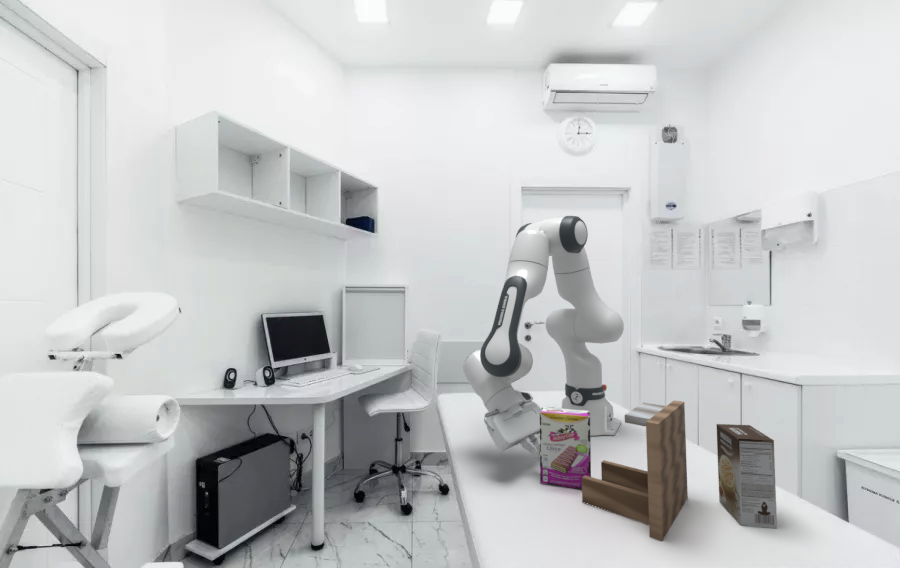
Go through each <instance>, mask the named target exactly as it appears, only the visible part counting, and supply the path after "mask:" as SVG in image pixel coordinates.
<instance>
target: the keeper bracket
mask: <svg viewBox="0 0 900 568" xmlns="http://www.w3.org/2000/svg"><path fill="white" fill-rule="evenodd" d="M685 415H686V412H685V401H681V400H672V401H671V402H670V403H669V404H667V405H661V404H653V403H648V402H642V403H641V404H639V405H637V406H636V407H634V408H632V409H631V410H630V411H628V412H626V413H625V414H624V423H625V424H629V425H630V424H631V425H637V426H641V427H645V437H646V438H645V439H646V466H647V467H646V468H647V469H646V470H644V469H639V468H636V467H632V466H628V465H624V464H620V463H615V462H612V461H608V460H602V461H600V464H601V465H600V469H601V474H600V475H601V479H600V478H599V479H598V478H595V477H593V476H591V477H589V476H586V475H584V476H583V477H582V489H581V501H582V503H583V502H585V503H584V504H586V503H588V504H587V505H589V504H590V505H589V506H592V505H593V506H592V507H595V506H596V507H595V508H598V507H599V508H598V509H601V508H602V510H604V509H605V510H604V511H607V510H608V511H607V512H610V511H611V512H610V513H613V514H615V513H616V515H618V514H619V515H618V516H621V515H622V517H625V518H628V519H630V520H634V521H636V522H639V523H643V524H645V525H648V527H649V529H648V531H649V532H648V533H649V535H648V536H649V538H652V539H654V540H658V541H660V542H663V541H664V539H665V537H666V536H667V534H668V532H669V530H670V529H671V527H672V526H673V524H674V522H675V520H676V518H677V517H678V515H679V514H680V513H681V510H682V509H683V507H684V506H685V504H686V502H687V500H688V498H689V495H688V494H689V493H688V470H687V466H688V465H687V443H686V438H687V437H686V416H685Z"/></svg>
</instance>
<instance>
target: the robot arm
mask: <svg viewBox="0 0 900 568" xmlns="http://www.w3.org/2000/svg"><path fill="white" fill-rule="evenodd" d="M588 235H589V233H588V227H587V224H586V223H585V221H584V220H583V219H582V218H581V217H580V216H575V215H566V216H557V217H550V218H545V219H543V220H539V221H535V222H530V223H526V224H523V225H522V226H521V227H520V228H519V229H518V230H517V233H516V235H515V239H514V241H513V245H512V248H511V250H510V255H509V258H508V264H507V268H506V274H505V280H504V284H503V286H502V290H501V293H500V296H499V299H498V303H497V308H496V313H495V315H494V316H495V317H494V320H493V324H492V327H491V330H490V332H489V333H488V336H487V337H486V339H485V340H484V342H483V344H482V346H481V348H480V349H477V350H474V351H473V352H471V353H470V354H469V355H468V356H467V357H466V359H465V360H464V362H463V365H462V366H463V367H462V369H463V374H464V376H465V378H466V380H467V381H468V383H469V385H470V387H471V388H472V389H473V391H474V393H475V394H476V395H477V396H479V398H480V399H481V400H482V403H483V406H484V407H485V409H486V410H487V412H486V413H484V416H483V418H484V419H483V422H484V424H485V426H486V428H487V431H488V434H489V436H490V437H491V439H492V441H493V443H494V444H495V446H496V448H497V449H498V450H500V451H502V452H504V451H507V450H508V449H511V448H513V447H515V446H517V445H519V444H520V445H521V447H522V448H524V449H525V450H526V451H528V452H529V453H530V454H531V455H532V456H533V458H534V459H535V458H537V457H540V410H541V408H542V407H540V406H539V405H538V403H536V402H535V401H533V400H534V397H533V396H532V395H531V393H530V392H525V391H519V390H517V389H514V386H512V383H515V382H517V381H519V380H520V379H522V378H524V377H525V376H527V375H528V374H529V373H530V371H531V370H532V368H533V364H534V360H533V359H534V358H533V354H532V353H531V351H530V350H529V349H528V348H527V347H526V346H525V345H523V344H522V343H520V342H519V339H518V334H519V329H520V324H521V319H522V316H523V310H524V307H525V305H526V303H527V302H529V300H531V299H534V298H535V297H538V296H539V295H540V294H541V293H542V291H543V290H544V287H545V284H546V280H547V277H548V270H549V261H550V260H549V259H550V257H551V262H552V263H551V264H552V269H553V275H554V278H555V279H554V280H555V283H556V288H557V293H558V295H559V296H560V297H561V298H562V299H563V300H565V301H567V303H570V304H571V305H572V306H573V307H574V308H561V309H557V310H552V311H551V312H549V313H548V315H547V317H546V318H545V319H546V320H545V330H546V332H547V334H548V335H549V336H550V338H551V339H553V340H554V341H555V342H556V344H557V346H558V347H559V349H560V350H561V353H562V356H563V358H564V363H565V375H566V377H565V380H566V383H565V385H564V392H565V393H564V394H565V397H563V399H562V401H561V408H562V409H573V410H585V411H590V437H591V436H615V435H616V434H617V432H618V430H619V429H620V427H621V424H622V421H621V419H619V418H615V417H614V407H613V405H612V404H611V403H610V401H608V399H607V398H606V391H607V388H608V385H607V384H605V383H603V373H602V371H603V370H602V369H603V367H602V362H601V361H600V359H599V357H598V356H596V355H595V354H593V353H591V352H590V351H589V349H588V348H587V345H586V343H589V344H591V343H592V344H607V343H615V342H618V341H619V340H620V338H621V337H622V335H623V333H624V331H625V330H624V329H625V328H624V320H623V318H622V316H621V314H620V313H618V312H617V311H616V310H614V309H612V308H611V307H609V306H608V305H607V304H606V303H605V302H604V301H603V300H602V298H601V297H600V296H599V293H598V291H597V290H596V288H595V284H594V280H593V277H592V272H591V268H590V267H591V266H590V263H589V259H588V255H587V250H586V248H585V246H586V244H587V240H588Z"/></svg>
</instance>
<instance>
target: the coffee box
mask: <svg viewBox="0 0 900 568" xmlns="http://www.w3.org/2000/svg"><path fill="white" fill-rule="evenodd" d="M716 447H717V475H718V500H719V503H720V504H721V505H722V506H723V508H725V510H726V511H727V512H728V513H729V514H730V515H731V517H732V518H734V520H735V521H736V522H737V523H738V524H739V526H742V527H743V526H744V527H755V528H756V527H757V528H767V529H777V528H778V519H777V518H778V517H777V495H776V493H777V492H776V491H777V490H776V463H775V459H776V458H775V440H774V439H773V438H771V437H769V436H767V435H766V434H764V433H763V432H761V431H760V430H758V429H756V427H755V428H754V427H753V426H751V424H750V425H749V424H727V423H726V424H725V423H724V424H723V423H722V424H721V423H716Z"/></svg>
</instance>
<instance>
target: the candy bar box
mask: <svg viewBox="0 0 900 568" xmlns="http://www.w3.org/2000/svg"><path fill="white" fill-rule="evenodd" d="M540 408H541V410H540V433H539V439H540V455H539V468H540V469H539V473H540V474H539V481H540V484H543V485H551V486H557V487H564V488H573V489H578V490H582V477H583V476H584V475H586V476H589V477H592V454H591V452H592V450H591V449H592V448H591V446H592V445H591V443H592V442H591V436H590V411H585V410H573V409H562V407H561V408H560V407H550V406H549V407H547V406H541V407H540Z"/></svg>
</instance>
